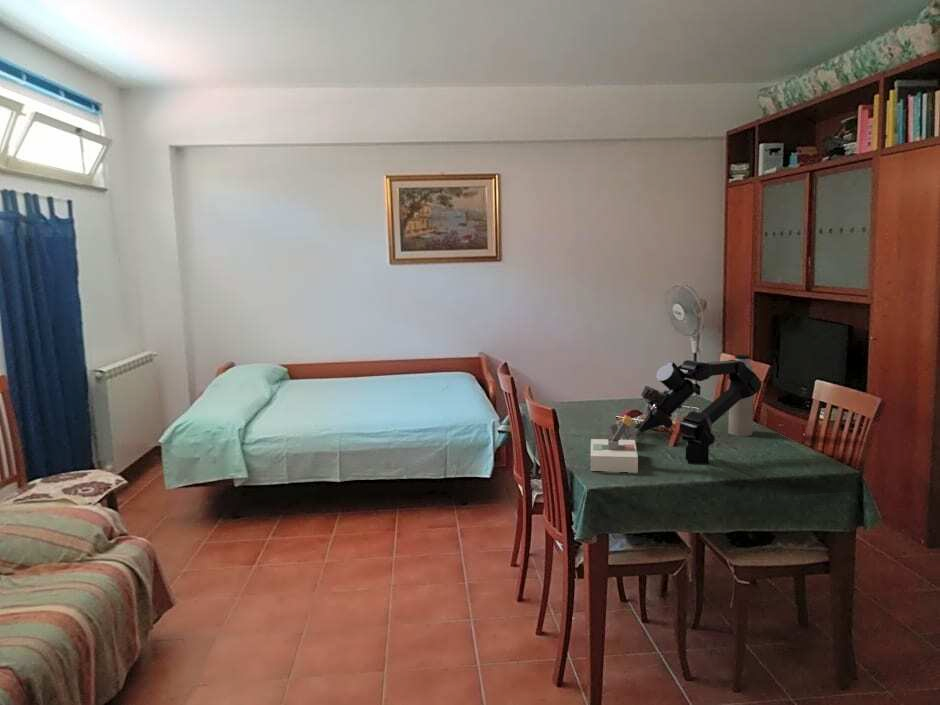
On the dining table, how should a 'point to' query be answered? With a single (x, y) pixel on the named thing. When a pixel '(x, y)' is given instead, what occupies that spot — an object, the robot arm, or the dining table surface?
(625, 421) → the breaker lever
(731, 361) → the robot arm
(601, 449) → the breaker housing
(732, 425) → the thermos bottle
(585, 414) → the dining table surface
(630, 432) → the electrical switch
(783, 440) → the dining table surface
